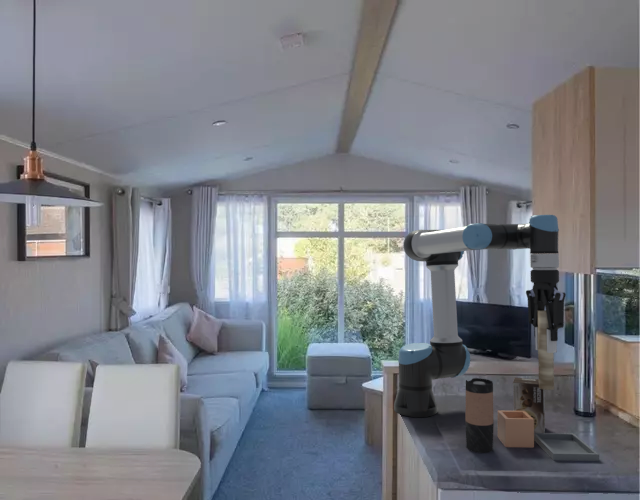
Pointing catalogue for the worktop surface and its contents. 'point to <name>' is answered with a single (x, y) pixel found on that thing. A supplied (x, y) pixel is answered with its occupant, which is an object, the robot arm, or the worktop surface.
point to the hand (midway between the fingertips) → (546, 350)
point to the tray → (565, 447)
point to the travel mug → (479, 415)
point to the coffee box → (530, 401)
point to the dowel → (544, 354)
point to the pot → (515, 428)
